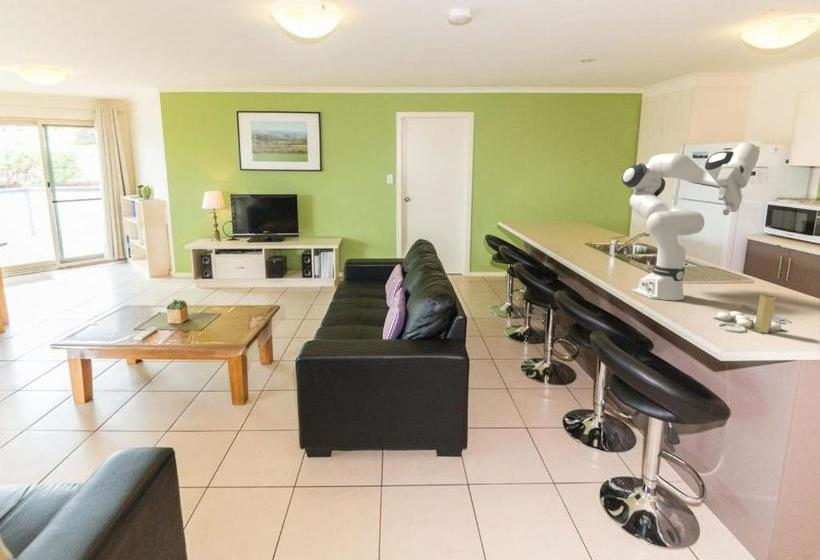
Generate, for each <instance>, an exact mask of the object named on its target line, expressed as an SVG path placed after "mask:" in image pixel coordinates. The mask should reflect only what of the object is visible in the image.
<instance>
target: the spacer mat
mask: <svg viewBox="0 0 820 560" xmlns="http://www.w3.org/2000/svg"><path fill="white" fill-rule="evenodd" d="M712 319H714V320H716V321H720V322H721V323H732V324H737V325H740V326H743V327H745V329H746V331H751V332H754V333H757V334H760V335H768V334H775V333H782V332H787V330H786V329H782V324H780V323H776V322H773V321H772V323H771V329H770V332H769V333H768V334H767V333H759V332H757V331H754V328H755V322H756V317H755V318H753V320H752V319H751V317H749V316H746V315H745V313H744V312H741V311H735V310H733V311H730V313H727V312H717V316H716V317H712Z"/></svg>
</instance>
